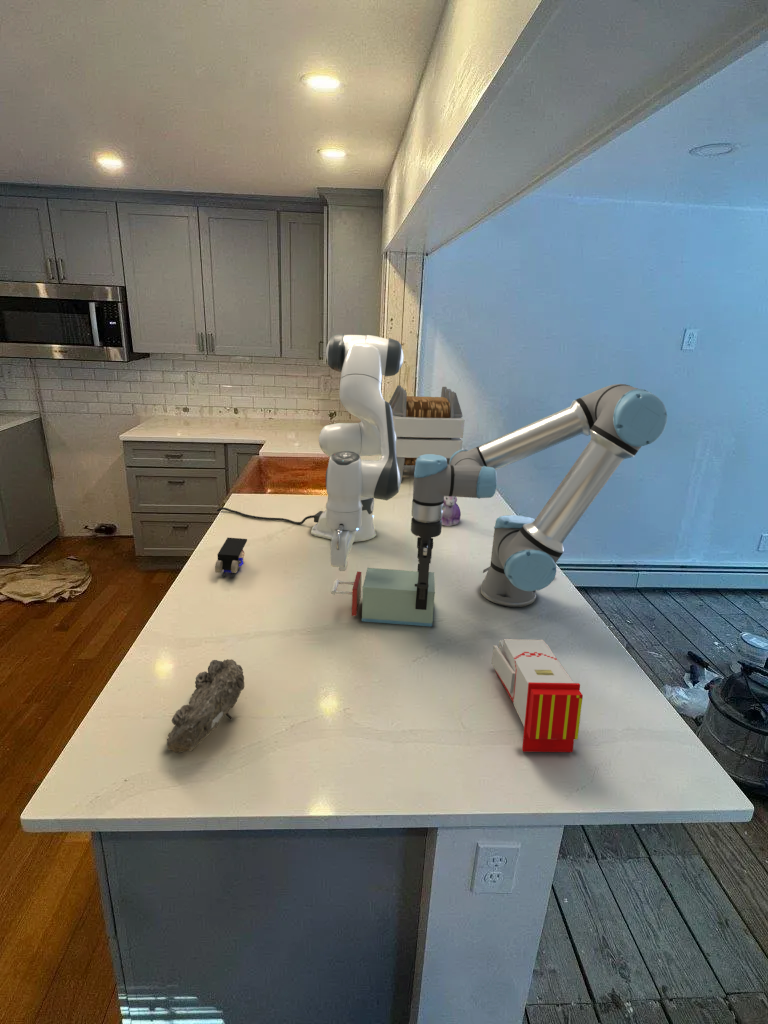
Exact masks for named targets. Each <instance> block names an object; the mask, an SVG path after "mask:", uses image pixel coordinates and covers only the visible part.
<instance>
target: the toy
mask: <svg viewBox="0 0 768 1024" xmlns="http://www.w3.org/2000/svg"><path fill="white" fill-rule="evenodd" d="M491 665H492V667H493V668H494V671H495V673H496V674H497V677H498V678H499V680H500V682H501V684H502V686H503V687H504V689H505V691H506V693H507V695H508V696H509V699H510V700H511V702H512V703H513V706H514V708H515V711H516V713H517V715H518V717H519V719H520V722H521V723H522V726H523V737H522V747H521V751H522V752H523V753H524V752H525V753H527V752H528V753H532V752H533V753H534V752H535V753H573V752H574V744H575V740H578V739H579V732H580V724H581V723H580V722H581V714H582V705H583V696H584V694H583V693H582V692H581V684H580V683H579V682H574V681H573V679H572V677H570V675H569V674H568V673H567V671H566V670H565V668H564V667H563V665H562V664H561V662H560V661H559V659H557V657H556V656H555V654H554V652H553V651H552V649H551V648H550V646H549V645H548V644H547V643H546V641H545V640H544V639H522V638H521V639H517V638H503V640H499V642H498V646H497V644H494V645H493V649H492V656H491Z"/></svg>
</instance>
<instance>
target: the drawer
mask: <svg viewBox="0 0 768 1024" xmlns="http://www.w3.org/2000/svg"><path fill="white" fill-rule="evenodd" d="M339 585H347V586H349V585H350V586H352V590H351V591H345V590H338V588H339ZM330 594H331V595H332V596H335V595H336V594H337V595H350V596H351V616H352V617H357V615H358V611H359V607H360V602H361V599H362V571H356V574H355V579H354V581H345V580H339V579H337V578H336V579H334V581H333V584H332V586H331V589H330Z"/></svg>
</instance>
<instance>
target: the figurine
mask: <svg viewBox="0 0 768 1024" xmlns="http://www.w3.org/2000/svg"><path fill="white" fill-rule="evenodd" d="M457 501H458V497H450V496H444V503H443V506H445V507H446V509H445V510H442V511H443V513H442V518H441V520H442V526H447V527H451V526H455V525H458V524H459V522H460V520H461V515H462V514H461V509H460V506H459V504H458V503H457Z"/></svg>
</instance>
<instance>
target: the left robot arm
mask: <svg viewBox="0 0 768 1024" xmlns="http://www.w3.org/2000/svg"><path fill="white" fill-rule="evenodd" d="M325 358H326V362H327V366H328V367H329V368H330V369H332V370H333V371H335V372H338V373H340V380H339V401H340V403H341V405H342V407H343V408H344V410H346V412H347V413H349V414H350V415H351V416H353V417H355V418H357V419H359V420H360V422H337V423H331V424H327V425H324V426H323V427H322V429H321V430H320V432H319V435H318V444H319V447H320V450H321V451H322V452H323V454H325V455H326V456H327V457H329V459H328V463H327V468H326V471H325V488H326V495H327V501H326V505H325V510H320V511H317V512H316V513H315V514H313V515H308V516H305V517H304V518H303V519H302V520H301V521H294V520H291V519H288V518H284V517H265V516H257V515H252V514H247V513H243V512H241V511H238V510H233V509H230V508H228V507H224V506H222V507H218V508H217V510H216V512H220V511H227V512H229V513H233V514H237V515H240V516H243V517H245V518H246V517H247V518H251V519H257V520H263V521H264V520H266V521H283V522H287V523H290V524H293V525H299V526H300V525H303V524H304V523H305V522H306V520H307V521H308V520H309V519H313V523H315V524H314V525H313V526H312V528H311V530H310V533H311V536H315V537H319V538H323V539H326V540H330V557H329V559H330V560H329V562H330V566H331V568H338V571H339V572H346V571H347V567H348V560H349V557H350V553H351V551H352V548H353V545H354V543H357V542H365V541H368V540H372V539H373V538H375V537H376V535H377V532H376V528H375V523H374V517H375V515H374V513H373V512H374V509H375V500H382V501H389V500H391V499H393V498H394V497H395V496H396V495H397V494H398V493H399V492H400V488H401V484H402V482H401V476H400V471H399V467H398V463H397V455H396V442H397V437H396V433H395V431H394V423H393V414H392V409H391V406H390V404H389V402H388V401H386V400H385V399H384V396H383V394H382V381H383V380H382V379H383V376H384V377H385V378H386V377H393V376H395V375H397V374H398V373H399V372H400V370H401V369H402V366H403V363H404V351H403V348H402V344H401V342H400V341H399V340H397V339H394V338H386V337H381V336H377V335H370V334H366V335H364V334H344V333H337V334H333V335H332V336H331V337H329V340H328V342H327V345H326V348H325ZM380 456H381V458H379V459H377V460H374V459H362V458H361V457H380Z"/></svg>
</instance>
